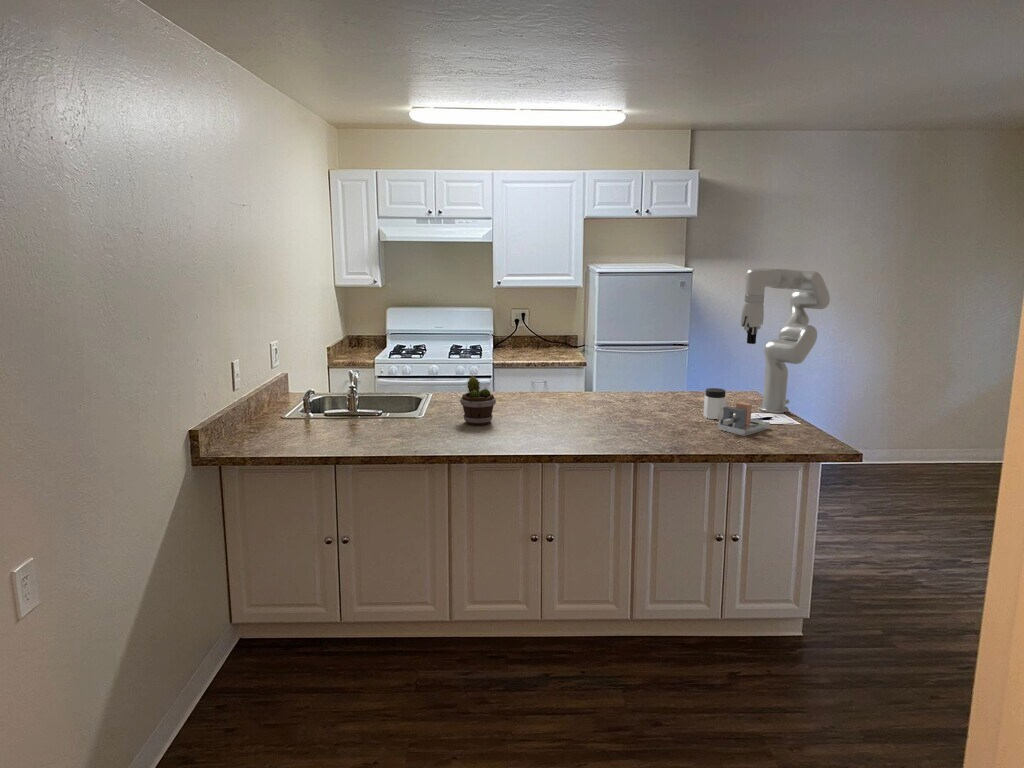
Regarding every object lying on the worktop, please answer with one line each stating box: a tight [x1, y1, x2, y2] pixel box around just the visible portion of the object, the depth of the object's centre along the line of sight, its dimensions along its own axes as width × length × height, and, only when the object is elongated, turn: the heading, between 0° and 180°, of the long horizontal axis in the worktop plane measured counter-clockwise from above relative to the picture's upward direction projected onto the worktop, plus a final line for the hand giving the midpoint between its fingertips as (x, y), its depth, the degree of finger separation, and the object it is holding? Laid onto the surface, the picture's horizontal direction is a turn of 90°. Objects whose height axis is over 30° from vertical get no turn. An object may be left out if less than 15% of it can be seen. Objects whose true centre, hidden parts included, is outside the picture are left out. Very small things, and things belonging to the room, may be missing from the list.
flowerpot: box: [459, 373, 497, 426], centre depth 296 cm, size 14×15×20 cm
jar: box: [702, 387, 727, 421], centre depth 307 cm, size 9×8×12 cm
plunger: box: [723, 401, 759, 425], centre depth 284 cm, size 15×8×8 cm, turn 130°
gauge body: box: [717, 405, 771, 437], centre depth 289 cm, size 18×12×10 cm, turn 130°
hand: (751, 343), depth 302 cm, fingers closed
